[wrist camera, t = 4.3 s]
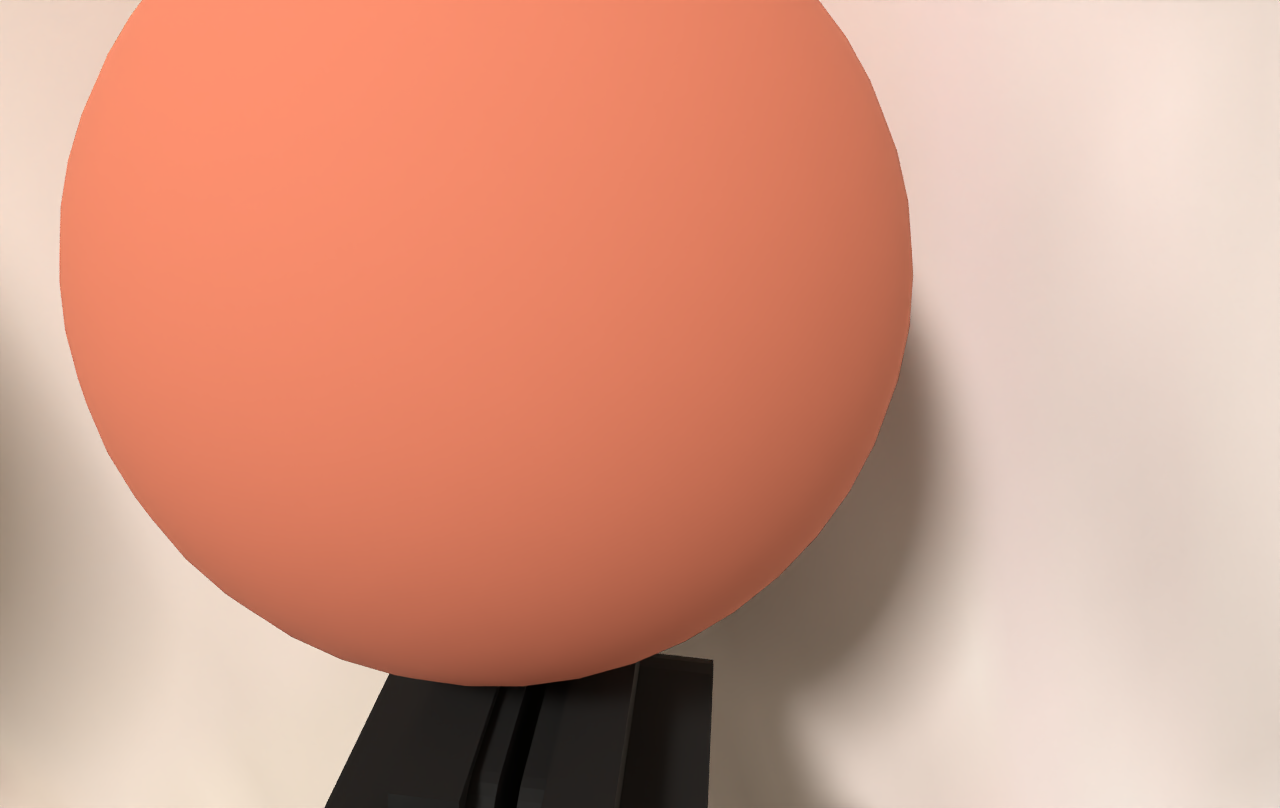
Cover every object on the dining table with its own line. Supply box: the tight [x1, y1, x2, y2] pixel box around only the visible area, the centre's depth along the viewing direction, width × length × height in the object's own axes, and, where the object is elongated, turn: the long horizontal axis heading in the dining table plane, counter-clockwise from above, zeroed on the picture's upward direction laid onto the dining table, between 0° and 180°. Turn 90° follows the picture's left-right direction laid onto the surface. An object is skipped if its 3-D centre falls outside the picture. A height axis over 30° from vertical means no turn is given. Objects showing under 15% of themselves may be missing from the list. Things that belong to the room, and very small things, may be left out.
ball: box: [60, 0, 913, 686], centre depth 8 cm, size 6×6×6 cm
